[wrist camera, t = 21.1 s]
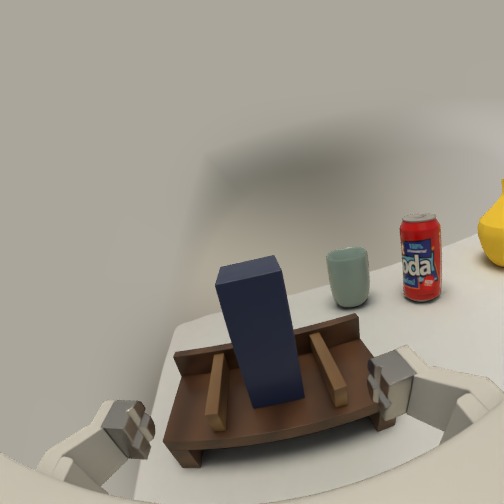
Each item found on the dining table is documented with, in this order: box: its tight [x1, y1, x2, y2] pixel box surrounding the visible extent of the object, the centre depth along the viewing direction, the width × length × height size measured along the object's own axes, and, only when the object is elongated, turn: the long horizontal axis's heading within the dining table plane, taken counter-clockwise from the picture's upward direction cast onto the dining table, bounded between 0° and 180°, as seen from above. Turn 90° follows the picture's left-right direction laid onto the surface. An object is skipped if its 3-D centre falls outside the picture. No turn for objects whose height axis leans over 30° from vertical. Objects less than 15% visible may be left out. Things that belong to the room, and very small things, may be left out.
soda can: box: [400, 213, 442, 302], centre depth 42 cm, size 8×8×15 cm
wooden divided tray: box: [163, 313, 396, 468], centre depth 25 cm, size 22×12×8 cm, turn 92°
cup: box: [326, 247, 370, 307], centre depth 48 cm, size 8×8×10 cm
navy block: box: [215, 255, 305, 409], centre depth 23 cm, size 5×5×13 cm
